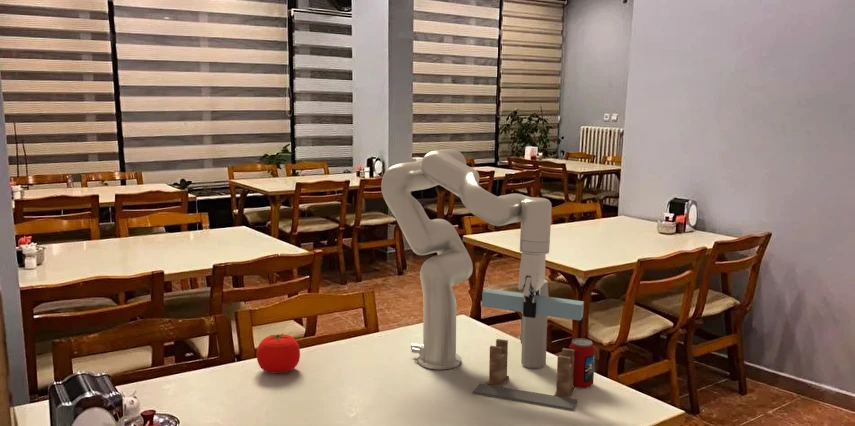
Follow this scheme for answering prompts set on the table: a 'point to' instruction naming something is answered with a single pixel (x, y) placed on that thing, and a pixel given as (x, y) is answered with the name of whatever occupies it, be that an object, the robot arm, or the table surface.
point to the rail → (543, 303)
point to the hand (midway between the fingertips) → (531, 314)
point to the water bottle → (534, 337)
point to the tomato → (278, 353)
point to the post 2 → (565, 374)
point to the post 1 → (498, 363)
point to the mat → (526, 396)
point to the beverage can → (583, 362)
